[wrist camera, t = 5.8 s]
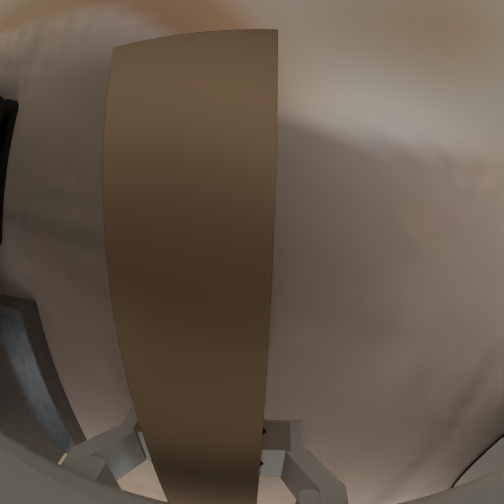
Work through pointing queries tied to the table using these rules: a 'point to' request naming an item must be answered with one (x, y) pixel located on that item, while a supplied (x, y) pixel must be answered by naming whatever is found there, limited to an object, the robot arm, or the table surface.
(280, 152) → the table surface
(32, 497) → the robot arm
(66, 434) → the fulcrum stand
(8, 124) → the end cap
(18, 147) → the table surface
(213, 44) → the walnut beam
